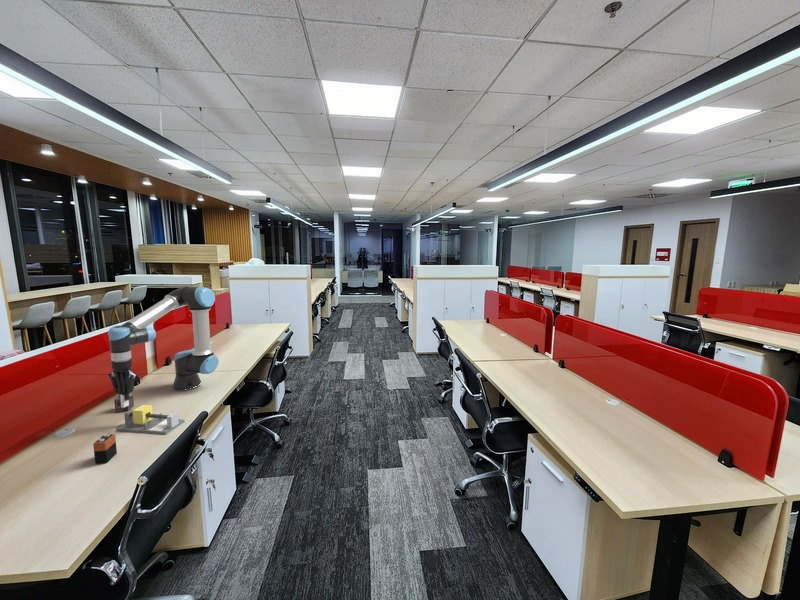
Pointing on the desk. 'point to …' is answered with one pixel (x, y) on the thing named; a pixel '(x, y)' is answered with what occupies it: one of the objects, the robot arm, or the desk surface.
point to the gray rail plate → (151, 423)
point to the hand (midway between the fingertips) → (125, 406)
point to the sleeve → (142, 414)
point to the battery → (105, 448)
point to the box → (125, 409)
